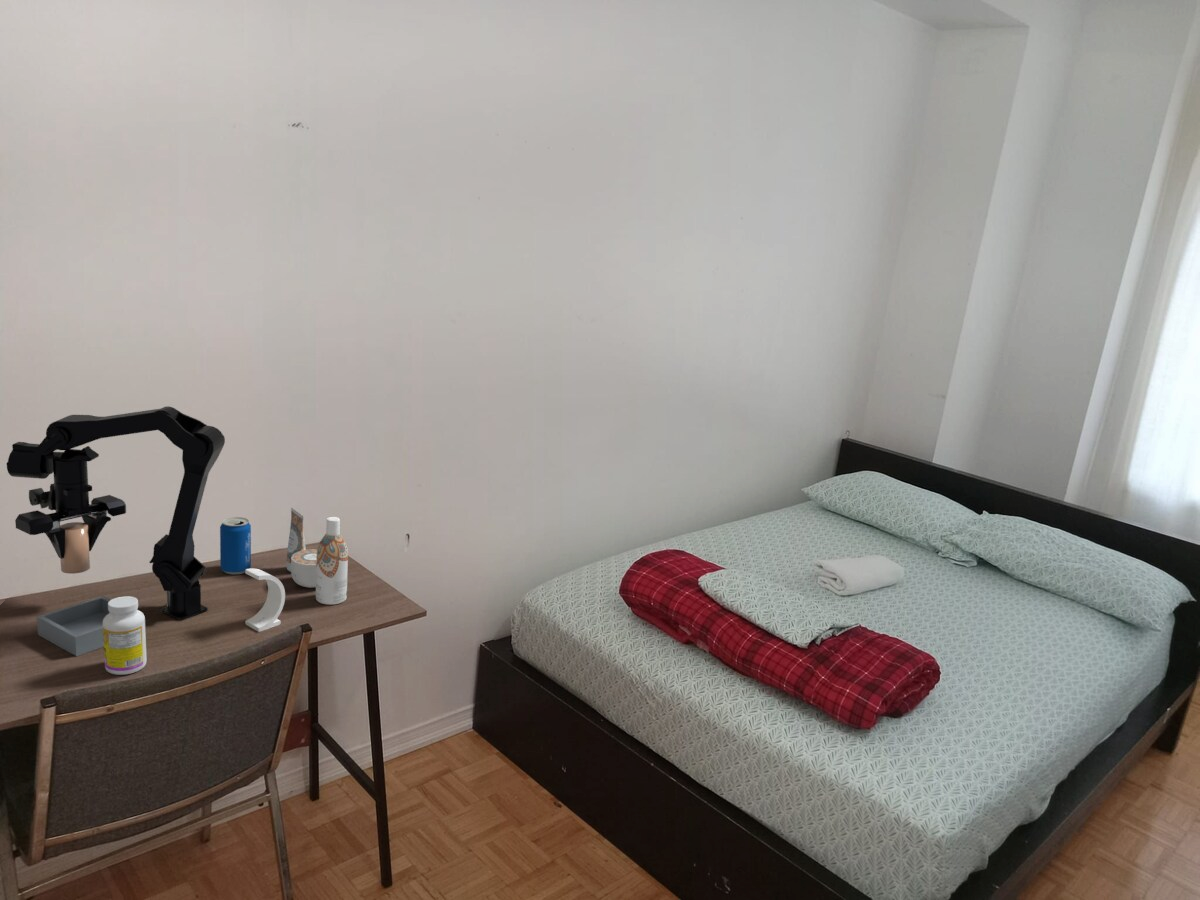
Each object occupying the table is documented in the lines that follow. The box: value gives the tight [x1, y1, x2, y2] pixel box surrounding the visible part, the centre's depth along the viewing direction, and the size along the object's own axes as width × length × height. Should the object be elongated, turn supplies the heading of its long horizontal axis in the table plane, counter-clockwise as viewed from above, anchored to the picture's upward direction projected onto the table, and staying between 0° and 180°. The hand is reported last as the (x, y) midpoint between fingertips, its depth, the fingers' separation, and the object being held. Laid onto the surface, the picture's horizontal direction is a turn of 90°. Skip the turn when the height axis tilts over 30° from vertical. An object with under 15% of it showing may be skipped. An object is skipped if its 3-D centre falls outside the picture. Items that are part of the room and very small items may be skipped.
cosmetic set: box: [285, 507, 349, 606], centre depth 196 cm, size 25×9×19 cm, turn 42°
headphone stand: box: [244, 568, 286, 633], centre depth 177 cm, size 5×6×12 cm
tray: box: [36, 595, 112, 657], centre depth 167 cm, size 13×13×4 cm
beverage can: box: [219, 516, 252, 575], centre depth 200 cm, size 6×6×12 cm
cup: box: [59, 521, 91, 575], centre depth 175 cm, size 5×5×9 cm
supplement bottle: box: [103, 595, 148, 676], centre depth 156 cm, size 7×7×13 cm
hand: (74, 554), depth 175 cm, fingers closed on cup, 5 cm apart
